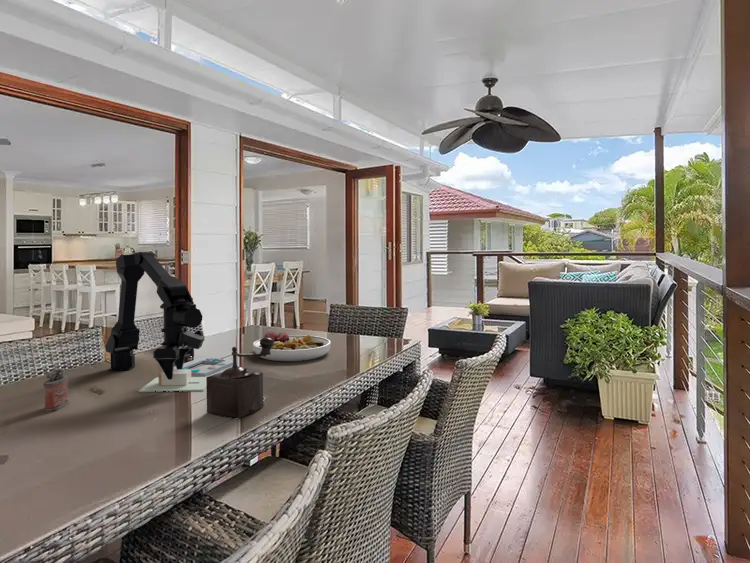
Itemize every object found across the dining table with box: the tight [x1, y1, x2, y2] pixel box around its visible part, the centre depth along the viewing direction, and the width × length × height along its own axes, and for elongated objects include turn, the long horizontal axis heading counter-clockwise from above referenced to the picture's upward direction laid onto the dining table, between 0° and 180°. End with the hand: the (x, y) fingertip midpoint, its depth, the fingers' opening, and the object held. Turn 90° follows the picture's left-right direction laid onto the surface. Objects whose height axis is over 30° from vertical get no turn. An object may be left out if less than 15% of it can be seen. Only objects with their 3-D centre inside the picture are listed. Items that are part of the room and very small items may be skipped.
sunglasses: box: [185, 346, 195, 361], centre depth 179 cm, size 10×12×5 cm
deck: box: [158, 368, 192, 386], centre depth 147 cm, size 5×8×4 cm, turn 95°
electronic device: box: [174, 357, 233, 377], centre depth 167 cm, size 18×2×15 cm
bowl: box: [252, 331, 331, 362], centre depth 191 cm, size 30×30×8 cm
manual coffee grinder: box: [206, 336, 274, 419], centre depth 127 cm, size 16×11×18 cm
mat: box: [138, 376, 208, 393], centre depth 147 cm, size 18×14×1 cm
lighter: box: [42, 368, 70, 414], centre depth 126 cm, size 8×3×10 cm, turn 5°
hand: (175, 375), depth 147 cm, fingers open, 9 cm apart
